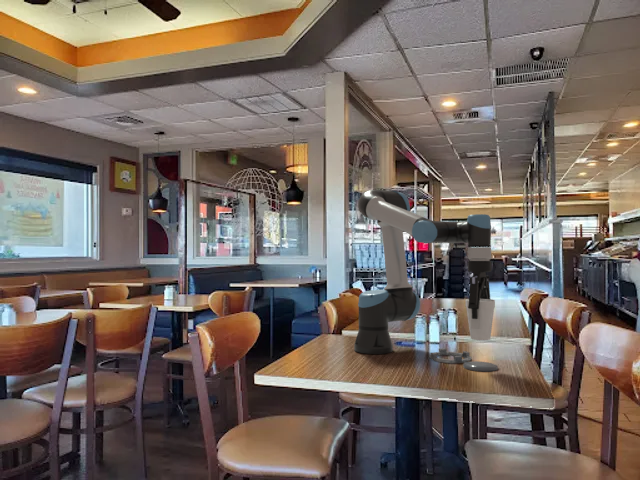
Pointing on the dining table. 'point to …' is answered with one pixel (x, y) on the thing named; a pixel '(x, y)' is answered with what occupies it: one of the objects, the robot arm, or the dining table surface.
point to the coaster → (480, 366)
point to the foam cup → (482, 319)
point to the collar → (456, 357)
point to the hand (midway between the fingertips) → (480, 326)
